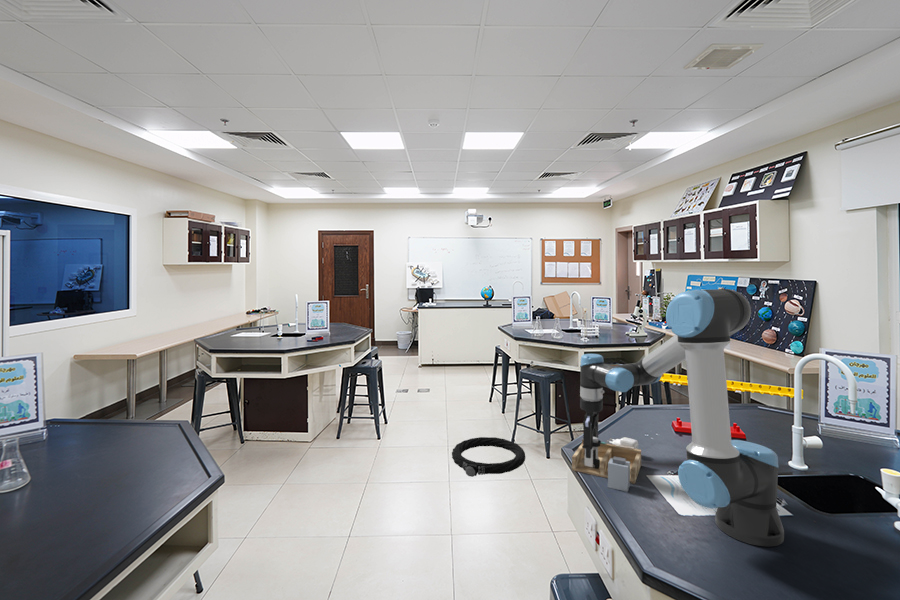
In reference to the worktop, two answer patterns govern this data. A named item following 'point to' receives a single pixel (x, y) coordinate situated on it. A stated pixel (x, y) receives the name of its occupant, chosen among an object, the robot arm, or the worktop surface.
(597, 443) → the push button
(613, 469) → the block
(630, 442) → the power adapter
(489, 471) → the cable lock
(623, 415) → the worktop surface
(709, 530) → the worktop surface
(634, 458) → the divided wooden rack
